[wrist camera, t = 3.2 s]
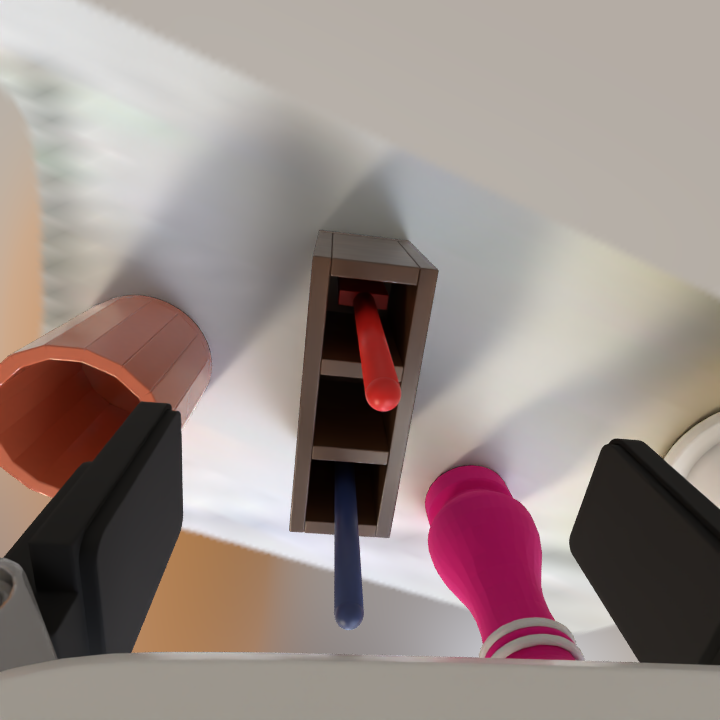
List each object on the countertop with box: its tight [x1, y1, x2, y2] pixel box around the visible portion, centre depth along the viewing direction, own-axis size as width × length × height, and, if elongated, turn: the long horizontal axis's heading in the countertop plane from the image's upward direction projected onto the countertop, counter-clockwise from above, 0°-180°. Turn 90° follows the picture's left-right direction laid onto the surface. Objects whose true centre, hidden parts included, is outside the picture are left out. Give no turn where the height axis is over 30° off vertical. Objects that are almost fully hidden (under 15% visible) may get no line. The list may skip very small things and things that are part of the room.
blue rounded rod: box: [334, 461, 364, 630], centre depth 25 cm, size 3×1×16 cm, turn 83°
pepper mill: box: [425, 465, 585, 661], centre depth 27 cm, size 7×7×20 cm
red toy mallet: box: [338, 277, 401, 411], centre depth 21 cm, size 3×1×16 cm, turn 83°
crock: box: [0, 295, 212, 498], centre depth 26 cm, size 8×8×9 cm
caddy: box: [289, 230, 438, 538], centre depth 27 cm, size 5×15×9 cm, turn 173°
